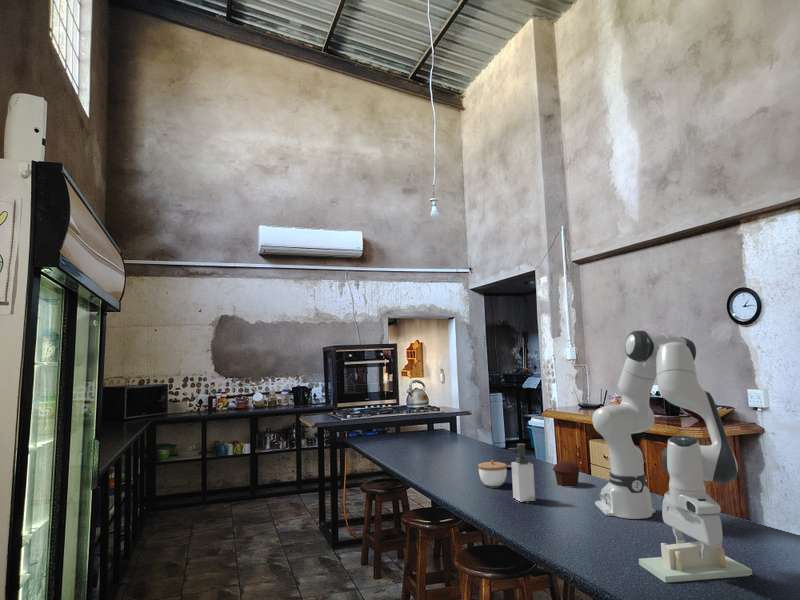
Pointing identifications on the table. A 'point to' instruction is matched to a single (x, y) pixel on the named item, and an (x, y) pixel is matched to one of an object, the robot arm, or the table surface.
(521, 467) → the soap dispenser
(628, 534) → the table surface
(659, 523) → the table surface
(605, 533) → the table surface
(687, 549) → the off-white rectangular block
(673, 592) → the table surface
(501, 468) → the lidded bowl
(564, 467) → the muffin
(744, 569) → the rack
